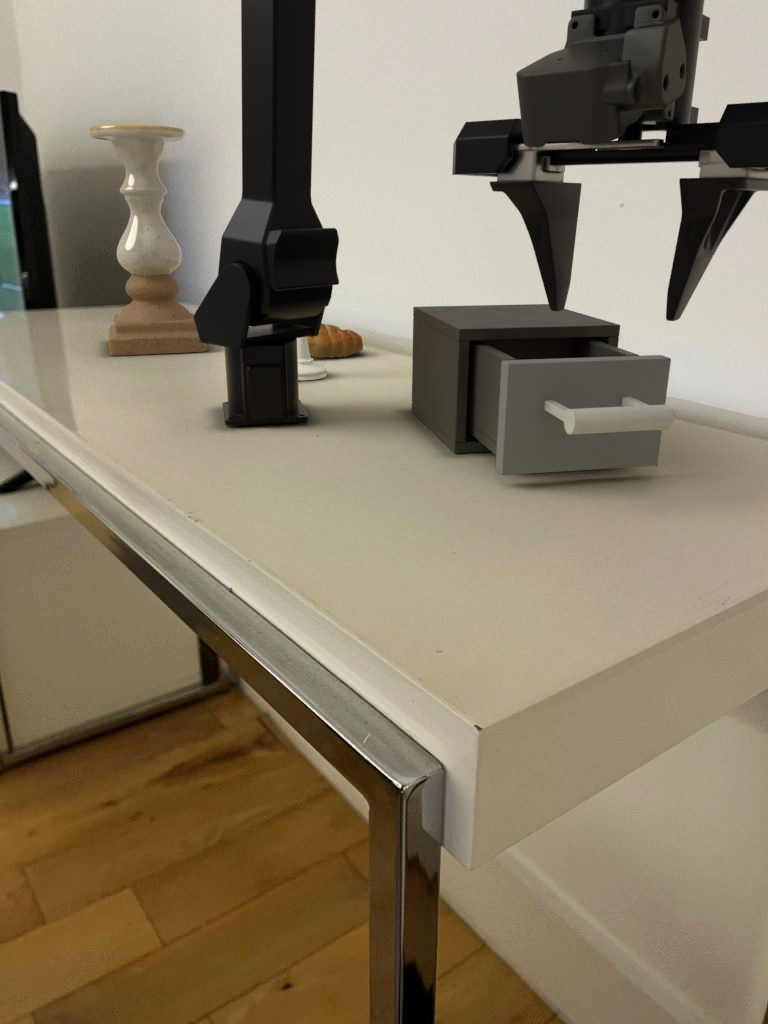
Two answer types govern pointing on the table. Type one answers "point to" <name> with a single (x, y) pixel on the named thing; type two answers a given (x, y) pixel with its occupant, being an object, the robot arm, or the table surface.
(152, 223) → the candle holder
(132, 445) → the table surface
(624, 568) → the table surface
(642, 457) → the drawer
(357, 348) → the pastry
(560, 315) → the small drawer cabinet
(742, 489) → the table surface
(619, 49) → the robot arm
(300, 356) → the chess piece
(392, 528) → the table surface
